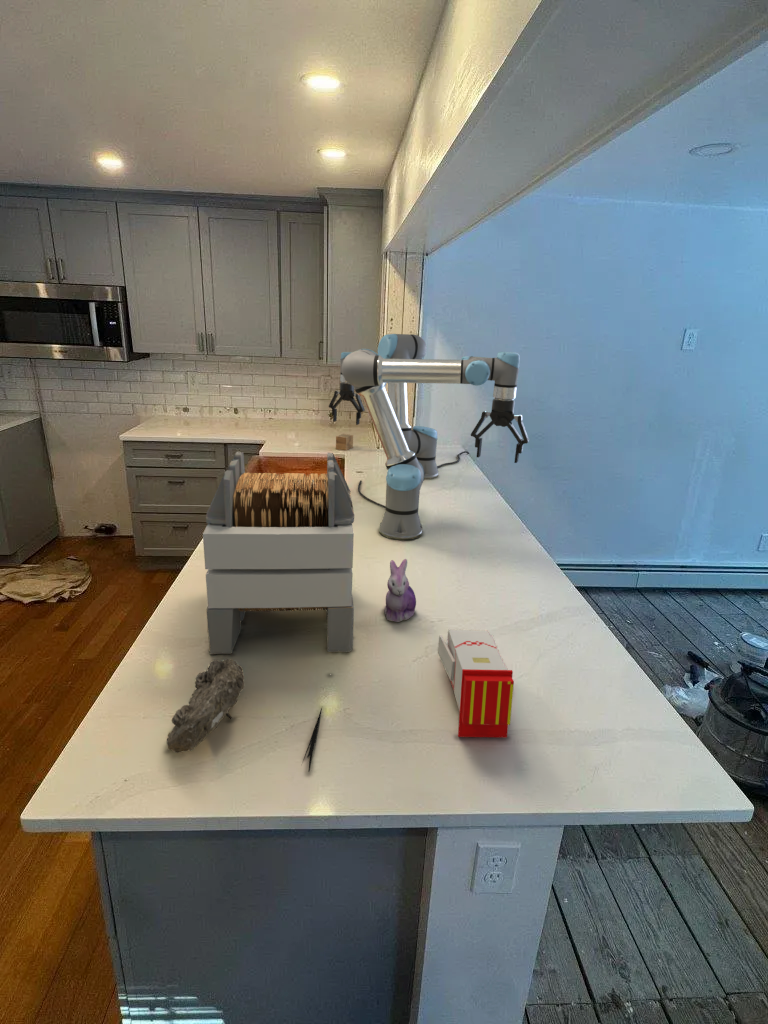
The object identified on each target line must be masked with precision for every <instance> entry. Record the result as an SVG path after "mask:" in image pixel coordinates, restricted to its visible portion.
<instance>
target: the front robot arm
mask: <svg viewBox="0 0 768 1024" xmlns="http://www.w3.org/2000/svg"><path fill="white" fill-rule="evenodd" d="M351 352H352V353H350V354H349V355H347V356H346V358H345V359H344V361H343V363H342V374H343V377H344V378H345V380H346V381H347V382H348V383H349V384H351V385H353V386H354V392H355V393H357V394H358V395H360V397H362V399H363V401H364V404H365V407H366V410H367V411H368V413H369V417H370V419H371V421H372V422H371V423H372V424H373V426H374V429H375V432H376V434H377V436H378V439H379V442H380V444H381V446H382V449H383V451H384V454H385V457H386V461H385V463H384V465H385V467H386V476H385V482H386V485H385V504H381V503H379V502H377V501H374V500H373V499H371V498H369V497H368V496H366V495H364V494H363V493H362V491H361V484H362V482H363V481H362V480H359V483H358V485H357V492H358V494H359V495H360V496H361V497H362V498H364V499H365V500H367V501H369V502H370V503H372V504H374V505H377V506H379V507H382V508H384V513H383V515H382V519H381V522H379V526H378V533H379V534H380V535H381V536H382V537H385V538H387V539H389V540H395V541H410V540H415V539H418V538H420V537H421V536H422V535H423V525H422V524H421V518H420V515H419V507H420V506H419V505H420V504H419V503H420V494H421V493H420V492H421V489H422V485H423V483H424V481H425V479H424V470H423V467H422V465H421V464H420V463H419V462H418V460H417V457H416V455H415V453H414V452H413V451H410V450H409V448H408V446H407V443H406V441H405V438H404V435H403V433H402V430H401V428H400V425H399V423H398V420H397V417H396V415H395V412H394V410H393V407H392V405H391V402H390V399H389V397H388V391H387V389H386V385H387V384H388V383H407V384H449V385H451V384H453V385H454V384H456V385H457V384H458V385H460V384H461V385H472V386H476V387H477V386H482V385H484V384H485V383H486V382H487V381H491V382H492V381H494V383H493V394H492V397H493V399H492V401H491V402H492V403H491V411H487V410H484V411H482V412H481V416H480V418H479V420H478V421H477V423H476V425H475V427H474V428H473V430H472V431H471V433H470V436H471V437H472V438H474V439H475V440H474V448H475V449H476V458H480V457H481V455H482V445H483V438H482V436H483V435H484V434H485V433H486V432H488V430H489V429H491V428H492V427H493V425H494V426H495V427H502V428H505V427H507V428H508V430H509V431H510V432H511V434H512V435H513V437H514V438H515V440H516V441H517V444H516V446H515V454H514V464H517V463H518V462H519V457H520V454H522V453H523V450H524V444H528V443H530V438H529V435H528V433H527V430H526V429H527V428H526V427H525V425H524V419H523V417H524V416H523V414H517V415H515V414H514V413H515V404H516V401H515V399H516V397H517V387H518V381H519V380H518V378H519V371H520V358H521V355H520V354H519V353H518V352H513V351H499V352H497V355H496V357H487V356H486V357H483V356H473V355H468V356H465V355H464V356H462V357H461V359H434V358H432V359H430V358H429V359H428V358H422V359H384V358H383V357H382V356H380V355H378V352H375V351H374V350H373V349H370V348H369V349H368V348H361V349H356V350H355V351H351ZM487 418H490V419H491V421H490V422H489V423H488V424H487V425H486V426H485V427H483V428H482V430H481V431H479V430H480V429H481V427H482V425H483V423H484V422H485V420H486V419H487ZM513 420H515V422H516V423H517V425H518V428H519V431H520V433H519V432H518V430H517V428H516V427H515V426H514V423H513Z"/></svg>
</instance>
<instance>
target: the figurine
mask: <svg viewBox="0 0 768 1024" xmlns="http://www.w3.org/2000/svg"><path fill="white" fill-rule="evenodd" d="M407 567H408V559H406V558H404V559H403V560H402V561H401V563H400V565H399V566H398V565H397V563H396V562H395V561H394V560H393V559H391V560H390V561H389V570H390V576H389V578H388V579H387V589H388V591H387V592H386V594H385V595H386V596H385V607H384V615H385V616H386V620H387V621H391V622H395V623H400V622H402V621H406V620H409V619H410V618H411V617H413V616H414V615H415V610H416V606H417V597H416V593H415V591H414V590H413V587H411V586H410V582H409V579H408V577H407V574H406V571H407Z"/></svg>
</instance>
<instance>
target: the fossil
mask: <svg viewBox="0 0 768 1024" xmlns="http://www.w3.org/2000/svg"><path fill="white" fill-rule="evenodd" d="M243 670H244V669H243V667H242V665H240V664H237V662H236V661H235V660H234V659H232V658H231V659H227V658H226V659H224V660H223V661H222V660H217V659H212V660H211V661H210V663H209V665H208V666H207V671H201V672H199V673H198V674H197V675H196V676H195V680H194V684H195V685H194V687H195V689H194V690H193V693H192V694H191V697H190V698H189V700H188V704H184V705H182V706H181V707H180V709H177V710H176V711H175V713H174V715H173V716H172V718H171V723H172V724H173V727H172V730H171V731H170V732H168V734H167V738H166V741H167V742H166V745H167V749H168V750H169V751H173V752H174V753H176V754H178V753H182V752H188V751H189V752H192V751H193V750H195V748H196V747H197V746H199V744H200V743H201V742H203V741H204V740H205V739H206V738H207V737H208V736H209V735H210V734H211V733H212V732H214V730H215V729H217V727H218V726H219V724H220V722H221V721H222V720H223V719H224V718H225V716H226V717H227V719H229V720H233V717H232V715H230V714H229V710H230V709H231V708H234V706H235V704H236V703H237V702H238V699H239V697H240V695H241V693H242V691H243V690H245V689H244V688H245V675H244V671H243Z"/></svg>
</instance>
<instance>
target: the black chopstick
mask: <svg viewBox="0 0 768 1024" xmlns="http://www.w3.org/2000/svg"><path fill="white" fill-rule="evenodd" d="M329 675H330V676H331V675H332V674H331V673H330V674H329ZM322 710H323V707H321V708H320V710H319V713H318V716H317V719H316V723H315V725H314V728H313V731H312V733H311V737H310V739H309V742H308V745H307V748H306V751H305V754H304V757H303V760H302V763H301V767H302V765H303V763H304V761H305V758H308V759H309V760H308V762H307V763H308V764H307V766H308V771H310V770H311V766H312V765H311V764H312V760H313V757H315V756H314V755H315V751H316V749H315V746H317V739H318V733H319V729H320V722H321V717H322V712H323V711H322ZM313 754H314V755H313ZM306 755H307V757H306Z"/></svg>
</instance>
